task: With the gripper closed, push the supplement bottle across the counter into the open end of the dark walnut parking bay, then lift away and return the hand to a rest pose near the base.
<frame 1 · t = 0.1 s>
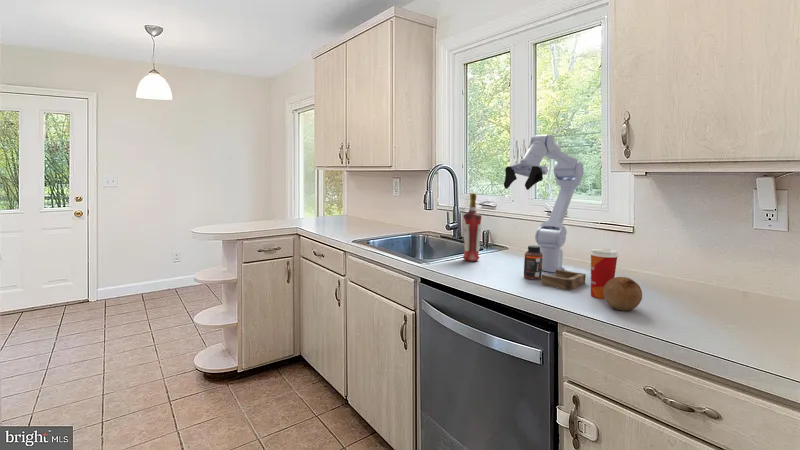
hand: (515, 187, 138), 32 cm above the counter, tool tilted 50°, fingers open, 7 cm apart
liquor: (471, 261, 177), on the counter
bay: (563, 283, 140), on the counter
onion: (621, 309, 115), on the counter
supplement bottle: (532, 278, 148), on the counter
paper cup: (600, 297, 127), on the counter
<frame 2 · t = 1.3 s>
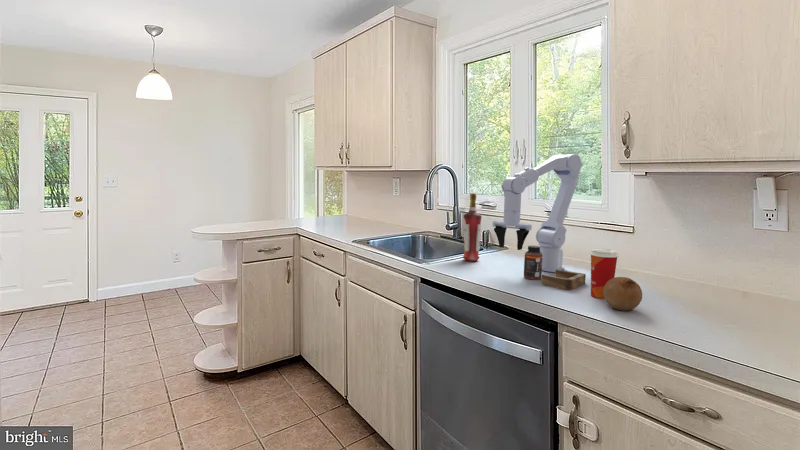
hand: (510, 248, 153), 9 cm above the counter, tool pointing down, fingers open, 7 cm apart
nothing on the counter moved.
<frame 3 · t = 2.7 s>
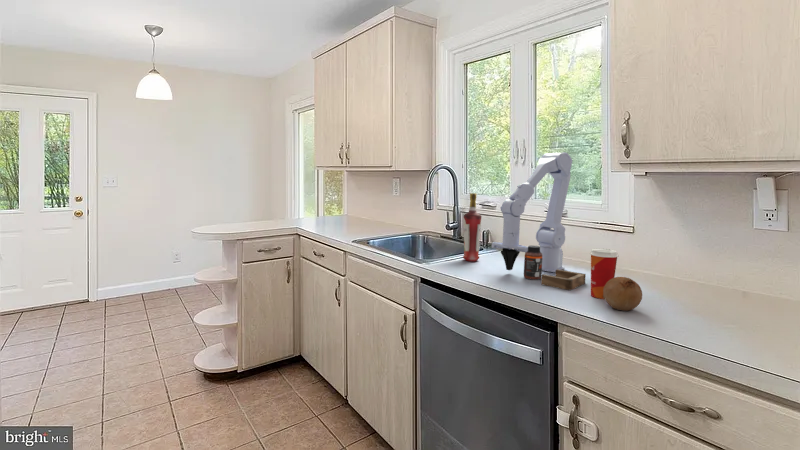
hand: (509, 269, 154), 1 cm above the counter, tool pointing down, fingers closed
nothing on the counter moved.
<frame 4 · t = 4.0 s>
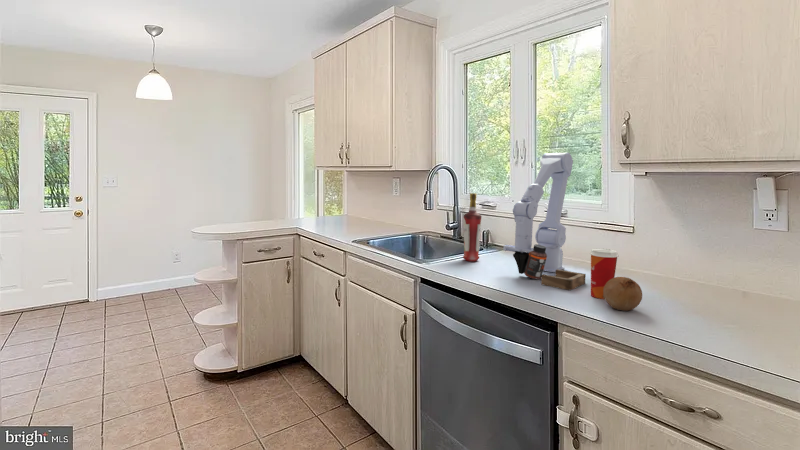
hand: (521, 273, 151), 1 cm above the counter, tool pointing down, fingers closed
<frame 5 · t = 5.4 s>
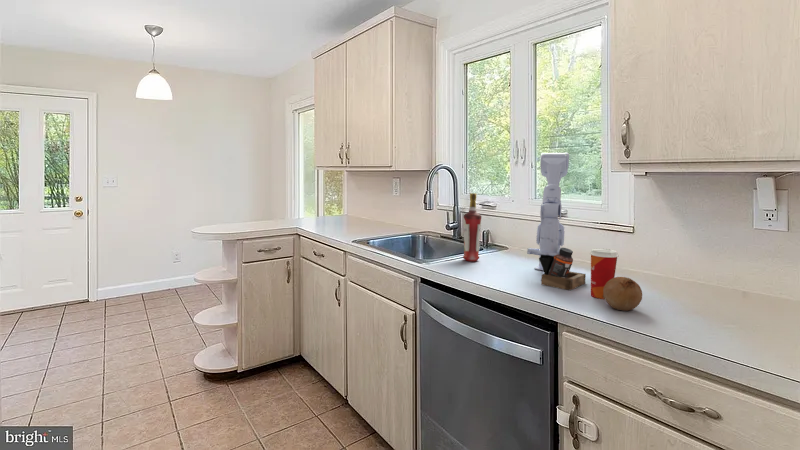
hand: (546, 277, 144), 1 cm above the counter, tool pointing down, fingers closed, pressing on supplement bottle
supplement bottle: (555, 280, 142), point 1 cm above the counter, touching gripper
everything else where it was.
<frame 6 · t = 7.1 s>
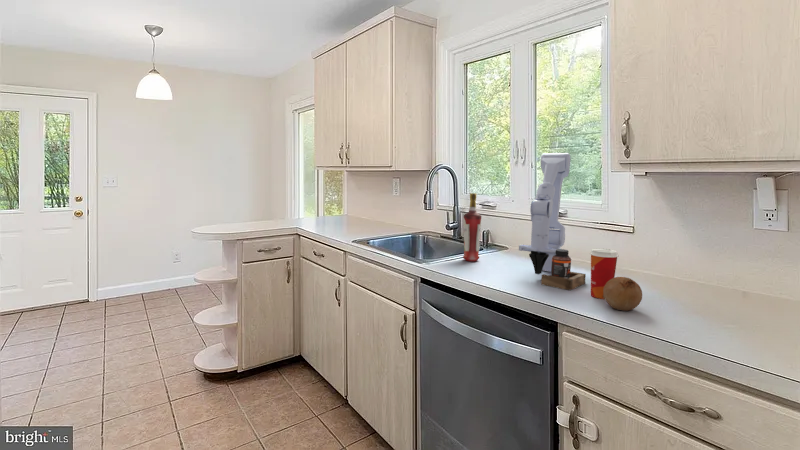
hand: (538, 273, 147), 2 cm above the counter, tool pointing down, fingers closed
supplement bottle: (559, 283, 141), on the counter
everything else where it was.
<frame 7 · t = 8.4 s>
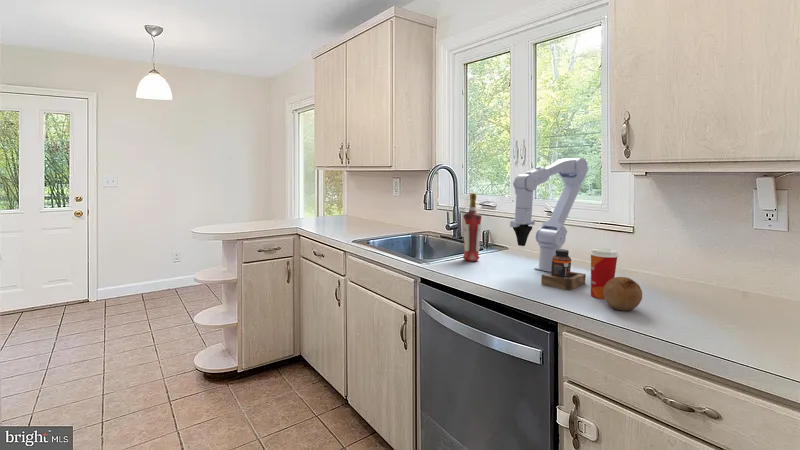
hand: (521, 245, 153), 10 cm above the counter, tool pointing down, fingers closed
nothing on the counter moved.
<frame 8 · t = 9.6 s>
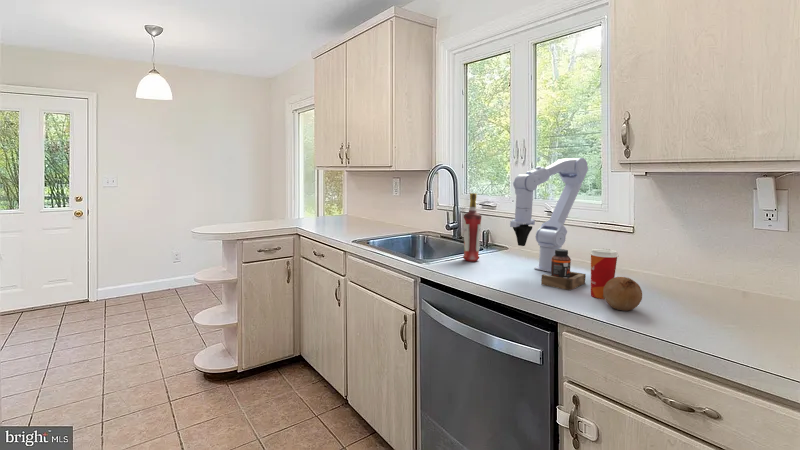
hand: (521, 245, 153), 10 cm above the counter, tool pointing down, fingers closed
nothing on the counter moved.
at the end: supplement bottle inside the target area (0.9 cm from its centre), on the counter; supplement bottle tilted 1°; supplement bottle touching counter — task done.
